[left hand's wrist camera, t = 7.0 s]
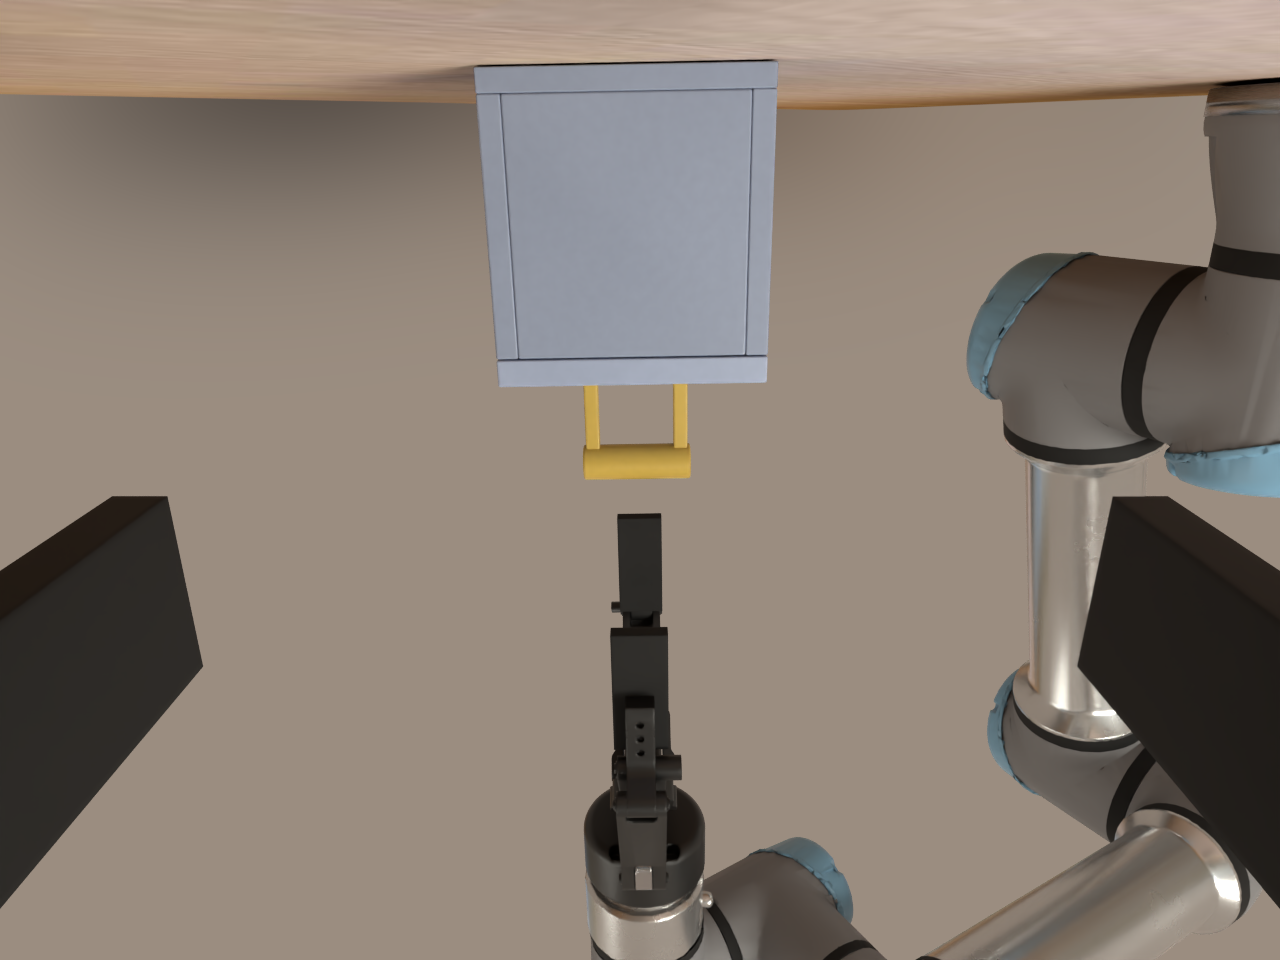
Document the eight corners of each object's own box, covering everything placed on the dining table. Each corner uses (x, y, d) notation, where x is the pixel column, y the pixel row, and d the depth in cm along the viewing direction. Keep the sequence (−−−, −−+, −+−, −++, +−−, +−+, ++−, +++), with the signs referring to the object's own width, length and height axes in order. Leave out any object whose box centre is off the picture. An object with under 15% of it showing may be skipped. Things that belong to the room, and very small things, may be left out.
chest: (737, 84, 41) (732, 295, 44) (523, 88, 41) (535, 299, 44) (778, 60, 29) (767, 355, 32) (473, 66, 29) (496, 359, 32)
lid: (730, 293, 45) (727, 456, 49) (537, 297, 45) (547, 459, 49) (767, 356, 32) (759, 574, 35) (496, 361, 32) (513, 577, 35)
